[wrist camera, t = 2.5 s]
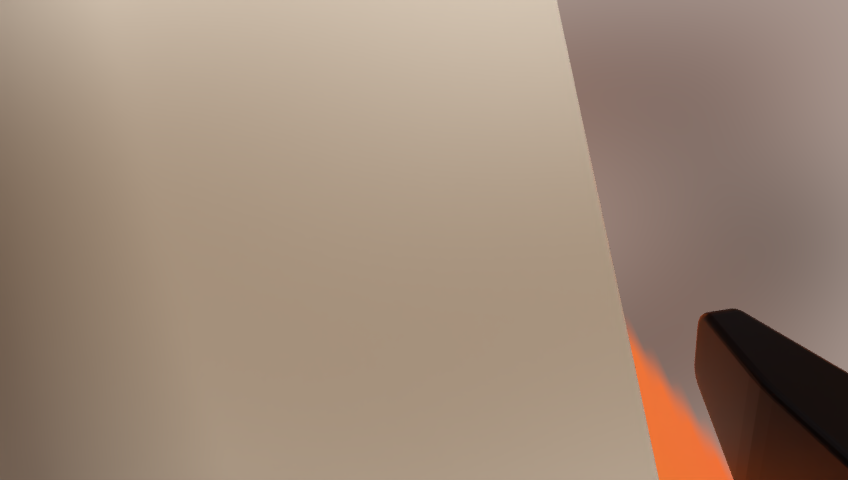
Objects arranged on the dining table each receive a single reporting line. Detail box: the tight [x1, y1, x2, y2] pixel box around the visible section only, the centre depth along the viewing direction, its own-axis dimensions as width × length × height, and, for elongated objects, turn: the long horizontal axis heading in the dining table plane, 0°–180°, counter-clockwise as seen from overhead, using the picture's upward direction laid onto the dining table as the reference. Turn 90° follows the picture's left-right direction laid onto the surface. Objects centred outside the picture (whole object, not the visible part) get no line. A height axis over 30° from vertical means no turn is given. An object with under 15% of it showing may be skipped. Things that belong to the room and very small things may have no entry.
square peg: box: [0, 0, 659, 480], centre depth 11 cm, size 5×5×14 cm
